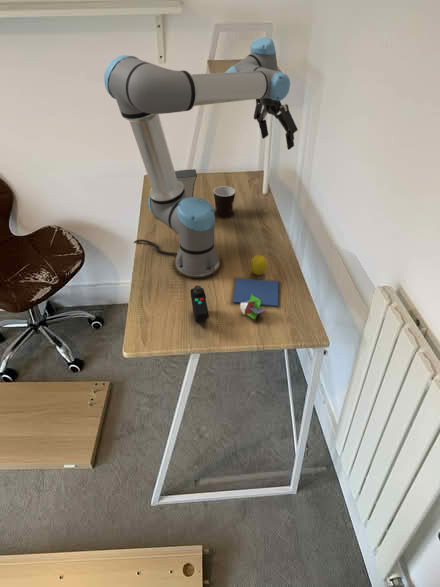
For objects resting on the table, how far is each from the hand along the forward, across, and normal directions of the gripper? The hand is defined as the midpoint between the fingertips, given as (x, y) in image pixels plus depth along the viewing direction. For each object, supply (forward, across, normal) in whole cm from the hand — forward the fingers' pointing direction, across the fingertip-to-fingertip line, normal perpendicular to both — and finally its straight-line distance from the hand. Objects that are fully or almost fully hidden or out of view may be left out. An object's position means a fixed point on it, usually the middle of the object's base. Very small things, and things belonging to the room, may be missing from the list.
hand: (277, 142), depth 164 cm
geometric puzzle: (+10, -44, +57) cm, 73 cm away
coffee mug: (+21, +9, +26) cm, 34 cm away
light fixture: (+15, +14, +42) cm, 47 cm away
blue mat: (+13, -37, +49) cm, 63 cm away
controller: (+6, -36, +70) cm, 79 cm away
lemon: (+15, -30, +43) cm, 55 cm away
